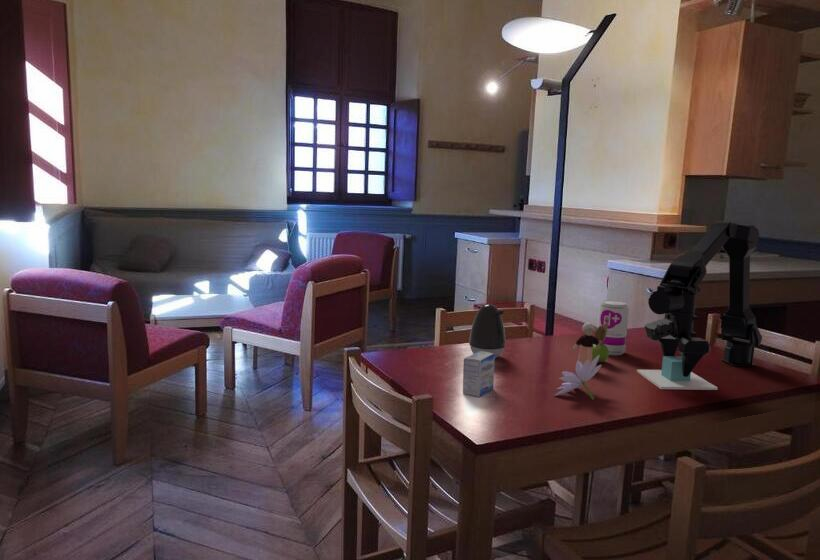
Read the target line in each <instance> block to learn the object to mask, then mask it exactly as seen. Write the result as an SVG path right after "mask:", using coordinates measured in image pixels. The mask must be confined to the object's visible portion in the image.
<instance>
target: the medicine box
mask: <svg viewBox="0 0 820 560" xmlns="http://www.w3.org/2000/svg"><path fill="white" fill-rule="evenodd" d="M495 359H496V358H495V354H493V353H489V352H483V351H478V352H476V353H474V354H473V353H472V354H470V355H468V356H465V358H464V357H463V363H462V364H463V366H462V367H463V368H462V370H463V371H462V394H463V395H467V394H468V396H471V395H472V396H473V397H476V398H480V397H482V396H483V395H485V394H486V393H488V392H490V391H491V390H493V388H494V380H495Z"/></svg>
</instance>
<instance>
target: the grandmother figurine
mask: <svg viewBox="0 0 820 560" xmlns="http://www.w3.org/2000/svg"><path fill="white" fill-rule="evenodd" d="M581 328H582V329H581V330H582V331H583V333H584V335H580V337H579V338H578V339H577V340H576V342H575V344H574V345H573V347H572V350H573V351H577V349H578V347H579V346H580V349H579V354H578V357H577V361H578V360H579V361H580V362H581V364H582V365H584V363H585V362H586V361H587V360H589V361H590V365H591V363H592V362H593V360H592V353H593V344H595V345H596V346H597V349H600V348H601V346H600V344H599V341H598V339H597V338H596V337H594V334H595V330H596V326H595V325H594V324H593V322H592V323H591V322H590V321H588V322H585V323H584V324H583V326H582V327H581Z"/></svg>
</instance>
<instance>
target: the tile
mask: <svg viewBox="0 0 820 560" xmlns="http://www.w3.org/2000/svg"><path fill="white" fill-rule="evenodd" d="M661 372H662V369H636V373H638V374H639V375H640V376H642V377H643V378H644V379H646V380H648V381H649V382H650V383H651V384H653V385H655V386H656V387H657V388H659V389H660V390H683V391H684V390H687V391H689V390H690V391H693V390H696V391H700V390H701V391H704V390H705V391H717V390H719V389H718V386H716V385H714V384H712V383H711V382H709V381H707V380H706V379H704V378H703V377H701V376H700V375H697V374H696V373H694V372H693V371H691V376H690V381H669V380H668V379H666V378H665V377H664V376H662V375H661Z"/></svg>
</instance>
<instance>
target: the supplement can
mask: <svg viewBox="0 0 820 560" xmlns="http://www.w3.org/2000/svg"><path fill="white" fill-rule="evenodd" d="M629 311H630V308H629V307H628V303H627V302H626V301H625V302H624V301H619V300H609V299H608V300H603V301H601V303H600V305H599V306H598V314H597V315H598V316H597V327H598V326H603V324H604V323H605V318H608V319H609V320H606V322H608V327H607V334H606V337H605V340H604V341H603V343H602V344H604V345H606V346H607V348H608V350H609V356H615V357H616V356H622V355H623V354H625V352H626V346H627V345H626V344H627V337H628V335H627V334H628V333H627V332H628V323H629Z"/></svg>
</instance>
